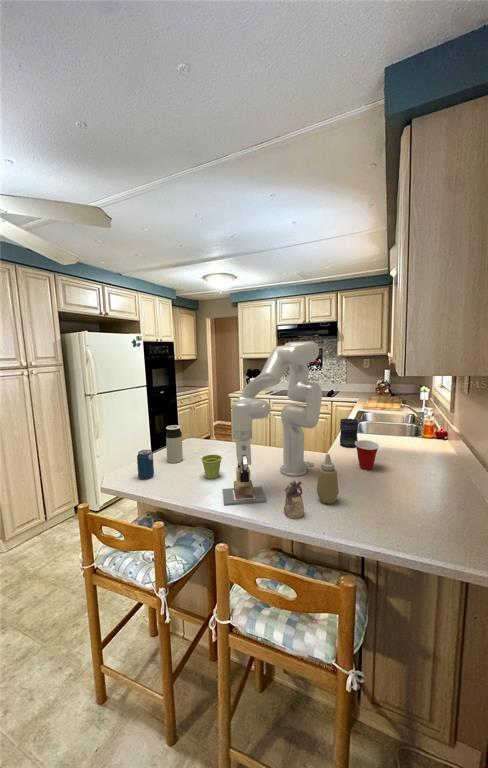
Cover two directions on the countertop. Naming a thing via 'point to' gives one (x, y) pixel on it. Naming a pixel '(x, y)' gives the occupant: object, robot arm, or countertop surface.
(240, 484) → the oak cube
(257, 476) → the countertop surface
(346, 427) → the storage jar
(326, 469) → the squeeze bottle
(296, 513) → the figurine
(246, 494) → the walnut base
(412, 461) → the countertop surface
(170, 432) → the travel mug
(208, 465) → the plant pot
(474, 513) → the countertop surface
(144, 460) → the soda can
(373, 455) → the plastic cup
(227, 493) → the slate mat
